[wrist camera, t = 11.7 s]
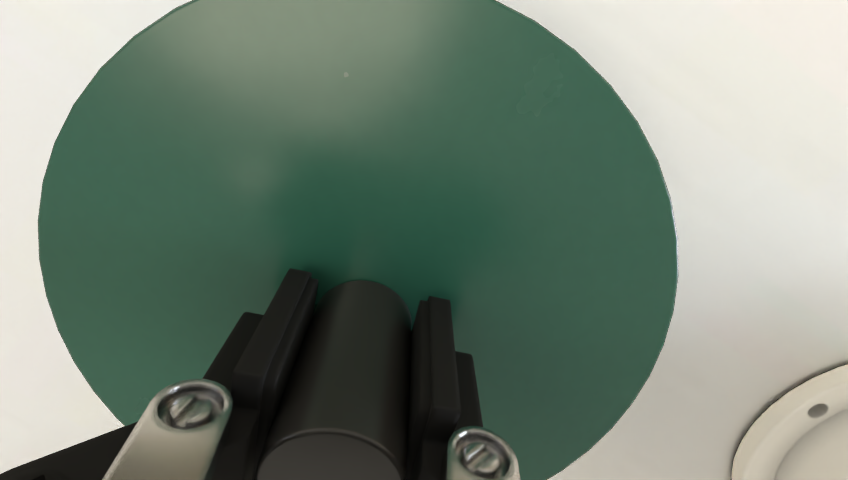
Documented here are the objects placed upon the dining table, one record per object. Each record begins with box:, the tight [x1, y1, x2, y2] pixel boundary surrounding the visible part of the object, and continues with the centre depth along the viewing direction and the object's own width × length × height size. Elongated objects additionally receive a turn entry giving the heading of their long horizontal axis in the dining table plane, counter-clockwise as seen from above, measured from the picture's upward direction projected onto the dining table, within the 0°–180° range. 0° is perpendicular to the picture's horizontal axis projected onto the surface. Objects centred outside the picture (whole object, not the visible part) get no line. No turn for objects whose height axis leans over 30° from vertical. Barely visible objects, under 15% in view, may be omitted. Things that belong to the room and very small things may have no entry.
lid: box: [38, 0, 678, 480], centre depth 11 cm, size 17×17×6 cm
